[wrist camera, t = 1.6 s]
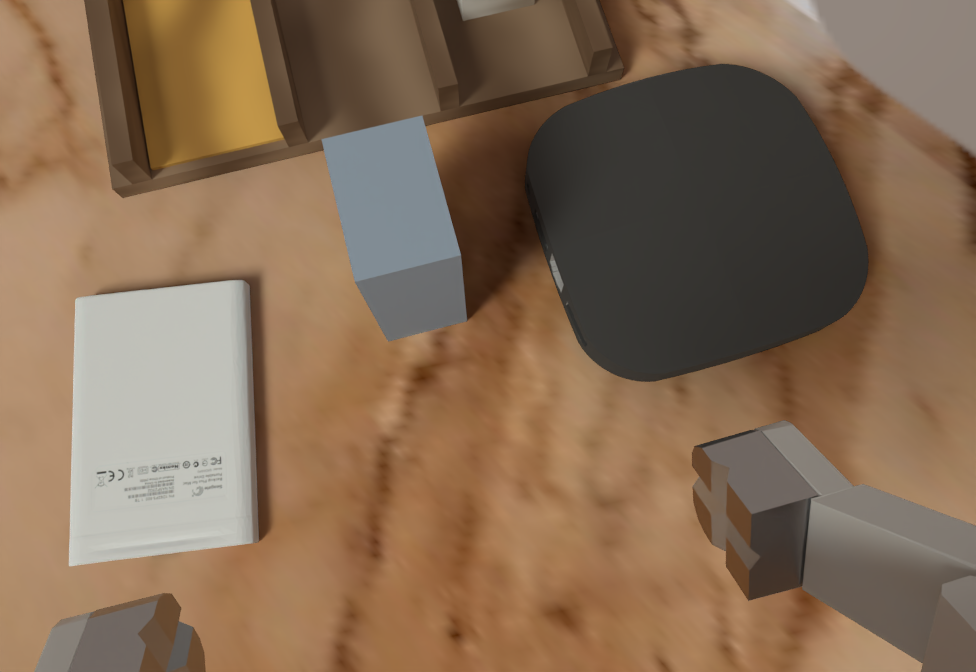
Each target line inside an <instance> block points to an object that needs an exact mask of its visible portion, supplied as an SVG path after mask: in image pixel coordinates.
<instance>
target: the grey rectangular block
mask: <svg viewBox="0 0 976 672" xmlns="http://www.w3.org/2000/svg"><path fill="white" fill-rule="evenodd" d="M321 140H322V144H323V148H324V152H325V157H326V161H327V165H328V169H329V174H330V178H331V182H332V186H333V191H334V195H335V199H336V203H337V208H338V212H339V216H340V220H341V225H342V229H343V233H344V237H345V242H346V246H347V250H348V254H349V259H350V263H351V267H352V272H353V276H354V280H355V283H356V285H357V286H358V288H359V290H360V292H361V294H362V295H363V297H364V299H365V301H366V303H367V304H368V306H369V308H370V310H371V312H372V313H373V315H374V317H375V319H376V321H377V322H378V324H379V326H380V328H381V330H382V331H383V333H384V335H385V337H386V338H387V340H388V341H392V340H396V339H400V338H404V337H407V336H411V335H415V334H419V333H423V332H427V331H431V330H434V329H438V328H442V327H446V326H450V325H454V324H458V323H462V322H465V321H467V315H466V304H465V293H464V282H463V271H462V260H461V253H460V250H459V246H458V242H457V239H456V235H455V232H454V228H453V224H452V221H451V217H450V214H449V210H448V206H447V203H446V199H445V196H444V192H443V188H442V185H441V181H440V178H439V174H438V170H437V167H436V163H435V160H434V156H433V152H432V149H431V145H430V142H429V138H428V134H427V131H426V127H425V124H424V120H423V116H418V117H414V118H409V119H405V120H401V121H397V122H392V123H388V124H384V125H380V126H376V127H371V128H367V129H363V130H359V131H354V132H350V133H346V134H342V135H337V136H333V137H329V138H325V139H321Z"/></svg>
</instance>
